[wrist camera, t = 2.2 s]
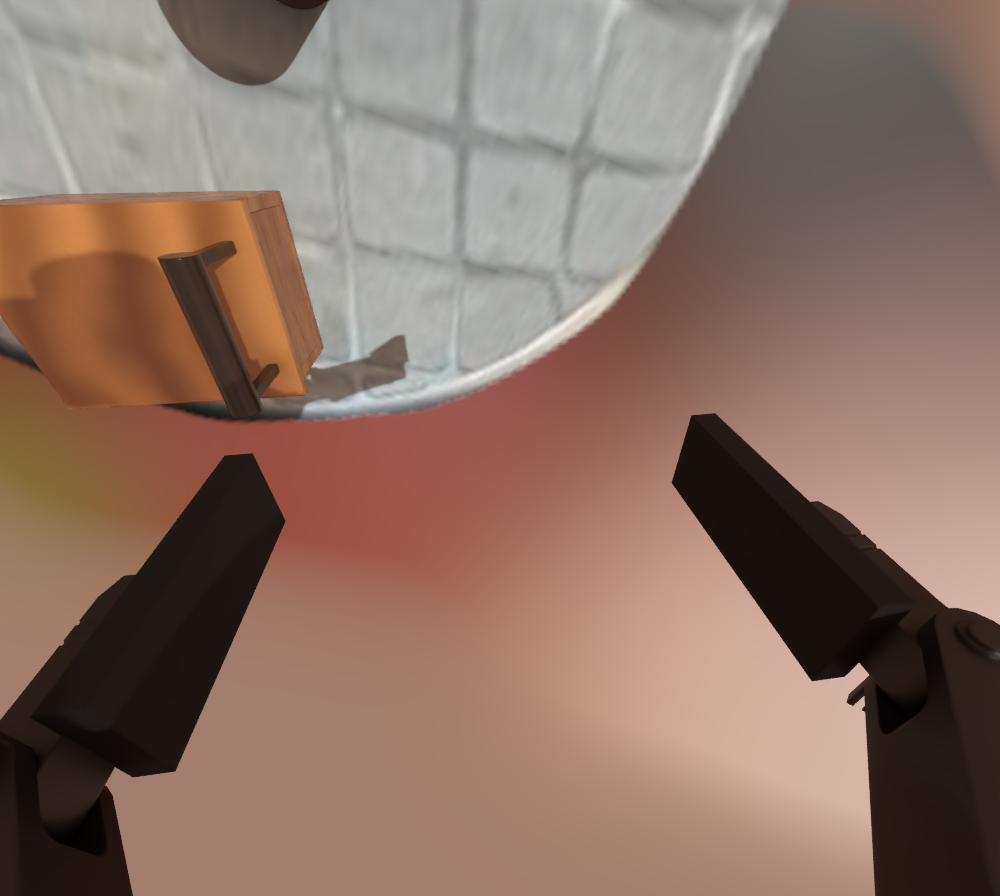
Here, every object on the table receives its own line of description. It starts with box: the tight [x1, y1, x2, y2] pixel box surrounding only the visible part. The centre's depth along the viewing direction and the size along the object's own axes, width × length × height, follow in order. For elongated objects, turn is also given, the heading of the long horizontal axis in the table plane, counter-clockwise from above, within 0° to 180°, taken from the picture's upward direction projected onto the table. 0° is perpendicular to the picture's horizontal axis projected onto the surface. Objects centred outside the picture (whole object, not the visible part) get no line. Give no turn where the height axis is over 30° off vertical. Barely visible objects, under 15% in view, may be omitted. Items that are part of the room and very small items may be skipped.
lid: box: [0, 200, 307, 418], centre depth 24 cm, size 17×13×7 cm
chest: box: [0, 191, 323, 378], centre depth 31 cm, size 16×13×9 cm
